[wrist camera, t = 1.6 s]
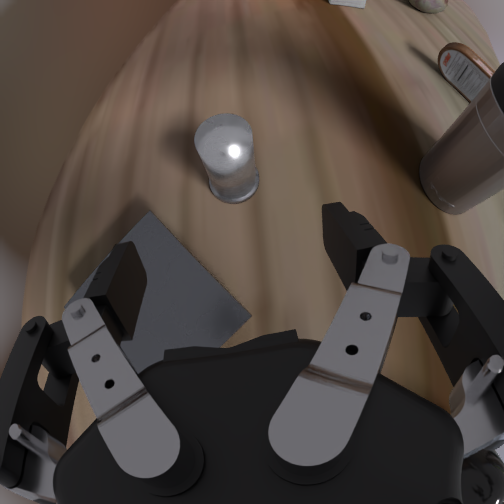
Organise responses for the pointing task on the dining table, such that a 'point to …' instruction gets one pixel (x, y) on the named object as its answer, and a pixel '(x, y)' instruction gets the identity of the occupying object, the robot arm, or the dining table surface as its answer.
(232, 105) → the dining table surface
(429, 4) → the fruit
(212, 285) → the stand
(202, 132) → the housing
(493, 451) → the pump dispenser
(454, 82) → the tin
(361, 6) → the supplement box
